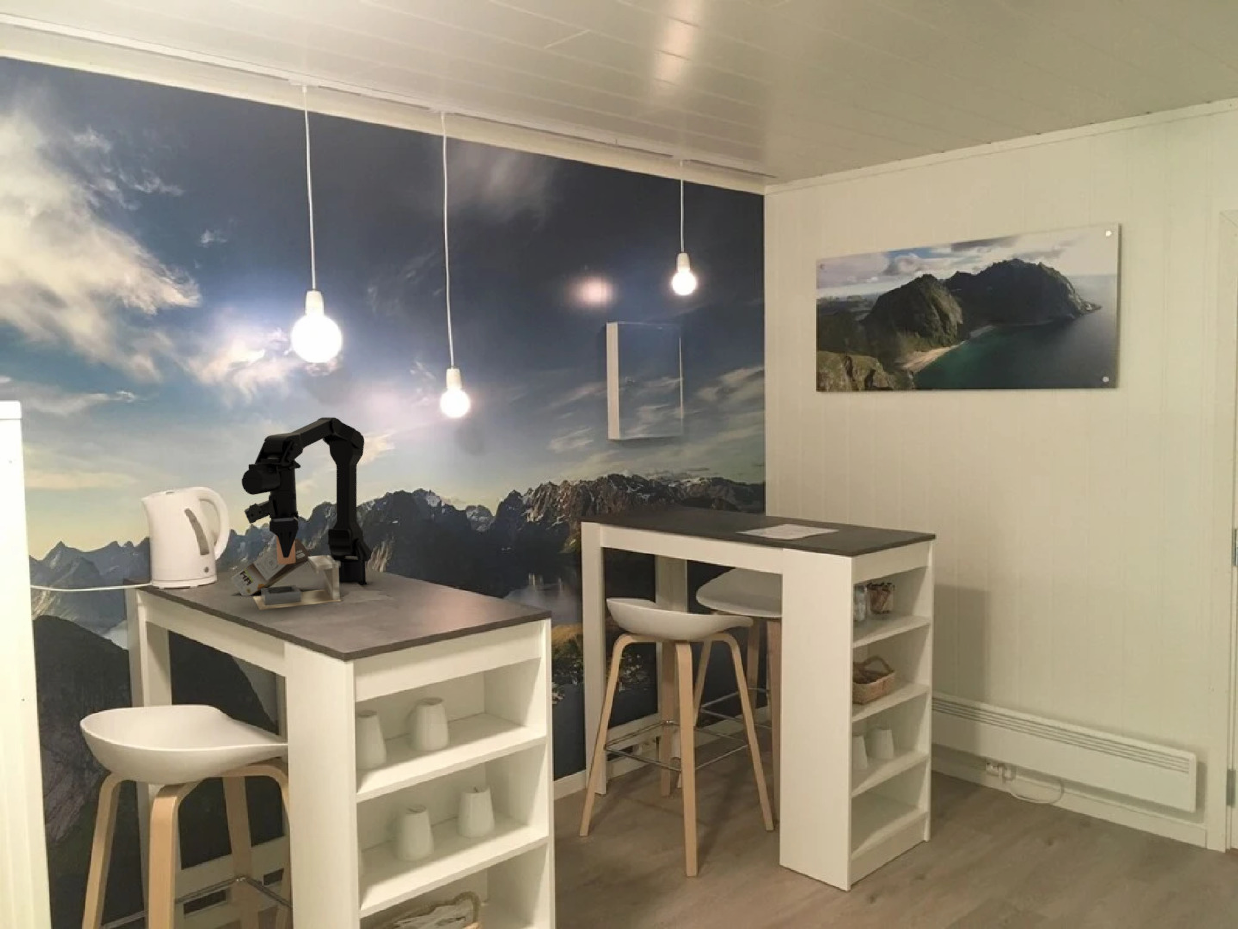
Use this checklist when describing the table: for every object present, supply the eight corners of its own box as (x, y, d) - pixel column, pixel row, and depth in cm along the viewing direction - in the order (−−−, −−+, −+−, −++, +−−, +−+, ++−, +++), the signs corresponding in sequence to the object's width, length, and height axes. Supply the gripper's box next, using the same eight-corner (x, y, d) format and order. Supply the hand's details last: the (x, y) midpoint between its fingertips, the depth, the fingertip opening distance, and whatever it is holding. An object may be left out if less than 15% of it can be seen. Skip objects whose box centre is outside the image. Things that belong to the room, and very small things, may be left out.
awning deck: (330, 592, 242) (328, 554, 241) (341, 605, 229) (339, 564, 228) (253, 600, 234) (251, 561, 233) (260, 613, 221) (258, 572, 220)
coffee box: (244, 600, 235) (294, 565, 232) (229, 578, 235) (279, 543, 232) (264, 591, 244) (312, 558, 241) (250, 570, 244) (298, 536, 241)
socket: (296, 595, 235) (295, 585, 235) (301, 601, 228) (300, 591, 228) (261, 598, 232) (260, 588, 231) (265, 605, 224) (264, 594, 224)
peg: (277, 561, 229) (276, 532, 228) (295, 560, 230) (294, 531, 229) (277, 564, 225) (275, 534, 224) (295, 563, 226) (294, 533, 226)
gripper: (247, 486, 232) (250, 551, 234) (243, 496, 215) (247, 566, 216) (296, 484, 236) (299, 548, 237) (296, 493, 218) (300, 562, 219)
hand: (286, 556), depth 227 cm, fingers closed on peg, 4 cm apart
